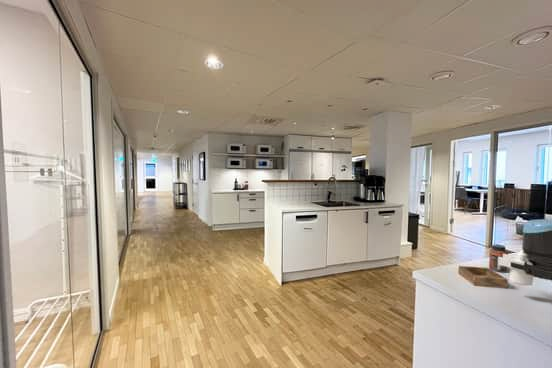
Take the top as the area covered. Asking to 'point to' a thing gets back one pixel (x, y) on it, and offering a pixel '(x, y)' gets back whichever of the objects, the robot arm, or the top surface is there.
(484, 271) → the holder
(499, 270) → the supplement bottle
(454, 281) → the top surface
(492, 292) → the top surface
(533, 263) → the robot arm
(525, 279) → the eye dropper bottle
